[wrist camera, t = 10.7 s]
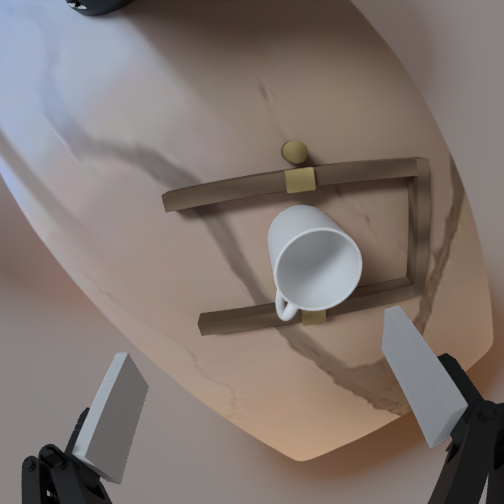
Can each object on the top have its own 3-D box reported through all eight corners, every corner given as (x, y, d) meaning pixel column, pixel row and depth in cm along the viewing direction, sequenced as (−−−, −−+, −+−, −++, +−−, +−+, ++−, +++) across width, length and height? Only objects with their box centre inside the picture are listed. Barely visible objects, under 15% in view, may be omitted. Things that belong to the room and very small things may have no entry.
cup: (344, 219, 33) (377, 248, 24) (302, 299, 37) (318, 347, 28) (283, 192, 32) (298, 212, 23) (245, 279, 36) (244, 326, 27)
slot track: (161, 165, 31) (153, 168, 28) (416, 133, 29) (430, 133, 26) (204, 326, 39) (201, 340, 36) (415, 287, 37) (426, 297, 34)
